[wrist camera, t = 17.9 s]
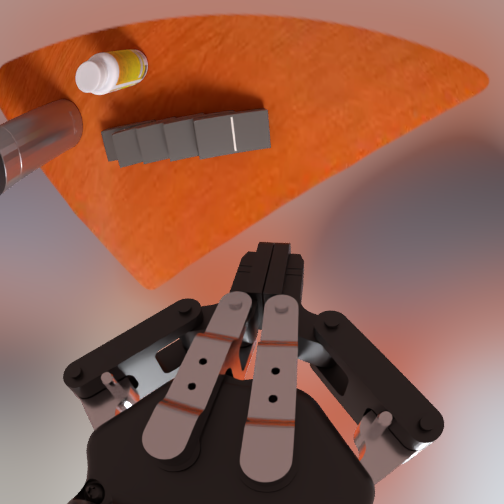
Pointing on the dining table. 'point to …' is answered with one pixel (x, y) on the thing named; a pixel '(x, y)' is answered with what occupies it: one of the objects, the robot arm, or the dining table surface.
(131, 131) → the tile
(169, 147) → the tile
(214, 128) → the lead tile
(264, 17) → the dining table surface
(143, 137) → the tile
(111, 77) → the supplement bottle
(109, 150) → the end tile
